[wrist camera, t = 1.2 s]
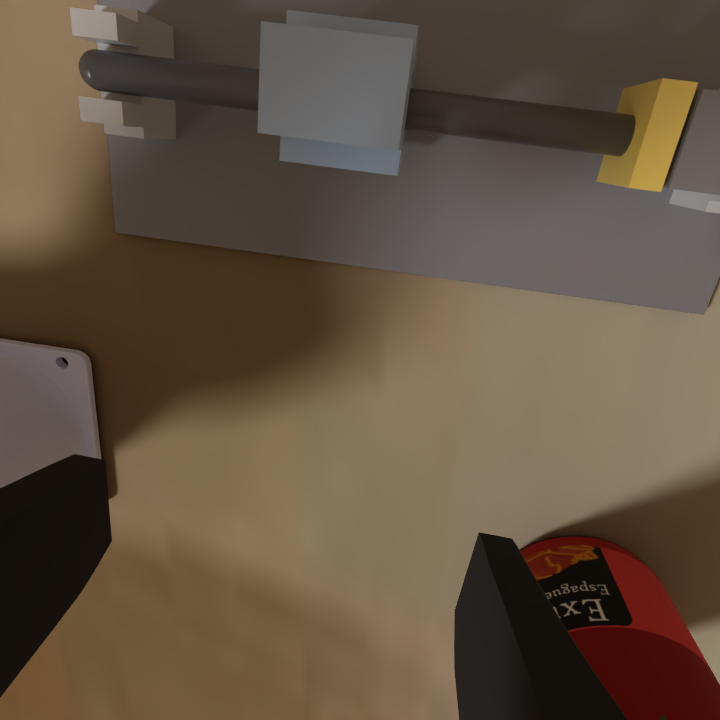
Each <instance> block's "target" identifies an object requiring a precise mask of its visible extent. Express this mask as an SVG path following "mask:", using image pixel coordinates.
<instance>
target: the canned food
mask: <svg viewBox="0 0 720 720" xmlns="http://www.w3.org/2000/svg"><path fill="white" fill-rule="evenodd" d="M520 552H521V554H522V556H523V557H524V559H525V561H526V563H527V564H528V566H529V568H530V569H531V571H532V573H533V575H534V576H535V578H536V580H537V581H538V583H539V585H540V587H541V588H542V590H543V592H544V593H545V595H546V597H547V598H548V600H549V602H550V603H551V605H552V607H553V608H554V610H555V611H556V613H557V615H558V616H559V618H560V620H561V621H562V623H563V624H564V626H565V627H566V629H567V631H568V632H569V634H570V635H571V637H572V638H573V640H574V641H575V643H576V644H577V646H578V648H579V649H580V651H581V652H582V654H583V655H584V657H585V658H586V660H587V662H588V663H589V664H590V666H591V667H592V669H593V670H594V672H595V673H596V675H597V676H598V678H599V679H600V681H601V682H602V684H603V685H604V687H605V688H606V689H607V691H608V692H609V694H610V695H611V696H612V698H613V699H614V701H615V702H616V704H617V705H618V706H619V708H620V709H621V711H622V712H623V713H624V715H625V716H626V718H627V719H628V720H720V685H719V683H718V681H717V679H716V678H715V676H714V674H713V672H712V671H711V669H710V667H709V665H708V664H707V662H706V660H705V658H704V657H703V655H702V653H701V651H700V650H699V648H698V646H697V644H696V643H695V641H694V639H693V637H692V636H691V634H690V632H689V630H688V628H687V627H686V625H685V623H684V621H683V620H682V618H681V616H680V614H679V613H678V611H677V609H676V607H675V606H674V604H673V602H672V600H671V599H670V597H669V595H668V593H667V592H666V590H665V588H664V586H663V585H662V583H661V581H660V580H659V579H658V578H657V577H656V575H655V574H654V573H653V572H652V571H651V570H650V569H649V568H648V567H647V566H646V565H645V564H644V563H643V562H642V561H640V560H639V559H638V558H637V557H636V556H634V555H633V554H632V553H630V552H629V551H628V550H626V549H624V548H622V547H620V546H618V545H616V544H614V543H611V542H607V541H604V540H600V539H597V538H590V537H581V536H572V537H558V538H553V539H547V540H544V541H541V542H538V543H535V544H533V545H530V546H528V547H527V548H525V549H523V550H521V551H520Z"/></svg>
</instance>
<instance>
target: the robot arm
mask: <svg viewBox="0 0 720 720" xmlns="http://www.w3.org/2000/svg"><path fill="white" fill-rule="evenodd" d="M62 357H63V358H65V359H66V360H67V361H68V364H66V363H65V362H64V361H63V359H62ZM111 541H112V538H111V526H110V514H109V502H108V490H107V478H106V466H105V460H103V459H101V451H100V442H99V433H98V423H97V414H96V405H95V396H94V386H93V377H92V368H91V361H90V358H89V357H88V356H87V355H86V354H85V353H84V352H82V351H79V350H74V349H67V348H61V347H54V346H48V345H41V344H34V343H28V342H21V341H15V340H8V339H1V338H0V697H1V696H2V694H3V693H4V692H5V691H6V689H7V688H8V687H9V685H10V684H11V683H12V682H13V680H14V679H15V678H16V676H17V675H18V674H19V673H20V671H21V670H22V669H23V667H24V666H25V665H26V663H27V662H28V661H29V660H30V658H31V657H32V656H33V654H34V653H35V652H36V651H37V649H38V648H39V647H40V645H41V644H42V643H43V642H44V640H45V639H46V638H47V636H48V635H49V634H50V632H51V631H52V630H53V629H54V627H55V626H56V625H57V623H58V622H59V621H60V619H61V618H62V617H63V615H64V614H65V613H66V612H67V610H68V609H69V608H70V606H71V605H72V604H73V602H74V601H75V600H76V598H77V597H78V596H79V594H80V593H81V592H82V590H83V588H84V587H85V585H86V584H87V582H88V580H89V579H90V577H91V576H92V574H93V572H94V571H95V569H96V567H97V566H98V564H99V562H100V560H101V559H102V557H103V555H104V554H105V552H106V550H107V548H108V547H109V545H110V543H111ZM454 651H455V679H456V690H457V700H458V710H459V720H628V719H627V718H626V716H625V715H624V713H623V712H622V711H621V709H620V708H619V706H618V705H617V704H616V702H615V701H614V699H613V698H612V696H611V695H610V694H609V692H608V691H607V689H606V688H605V687H604V685H603V684H602V682H601V681H600V679H599V678H598V676H597V675H596V673H595V672H594V670H593V669H592V667H591V666H590V664H589V663H588V662H587V660H586V658H585V657H584V655H583V654H582V652H581V651H580V649H579V648H578V646H577V644H576V643H575V641H574V640H573V638H572V637H571V635H570V634H569V632H568V631H567V629H566V627H565V626H564V624H563V623H562V621H561V620H560V618H559V616H558V615H557V613H556V611H555V610H554V608H553V607H552V605H551V603H550V602H549V600H548V598H547V597H546V595H545V593H544V592H543V590H542V588H541V587H540V585H539V583H538V581H537V580H536V578H535V576H534V575H533V573H532V571H531V569H530V568H529V566H528V564H527V563H526V561H525V559H524V557H523V556H522V554H521V552H520V551H519V549H518V547H517V545H516V544H515V542H514V541H513V539H510V538H505V537H500V536H495V535H490V534H484V533H479V534H478V537H477V540H476V544H475V547H474V550H473V553H472V557H471V560H470V563H469V566H468V570H467V573H466V576H465V579H464V583H463V586H462V589H461V592H460V596H459V599H458V602H457V605H456V609H455V640H454Z"/></svg>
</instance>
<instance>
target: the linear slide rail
mask: <svg viewBox="0 0 720 720" xmlns="http://www.w3.org/2000/svg"><path fill="white" fill-rule="evenodd" d="M94 7H95V10H87V9H78V8H70V13H71V23H72V34H73V36H76V37H80V38H83V39H86V40H89V41H92V42H95V43H97V45H98V50H97V49H92V50H89V51H87V52H85V53H84V54H83V55H82V56H81V58H80V61H79V71H80V74H81V76H82V78H83V80H84V81H85V82H86V83H87V84H88V85H89V86H90V87H92V88H93V89H95V90H98V91H101V95H102V99H97V98H89V97H81V96H79V106H80V117H81V121H87V122H95V123H103V124H104V132H105V134H107V135H108V148H109V161H110V173H111V186H112V199H113V212H114V225H115V233H122V234H129V235H136V236H144V237H151V238H158V239H165V240H172V241H179V242H187V243H194V244H201V245H208V246H215V247H222V248H230V249H237V250H244V251H251V252H258V253H265V254H273V255H280V256H287V257H294V258H301V259H308V260H316V261H323V262H330V263H337V264H344V265H352V266H359V267H366V268H373V269H380V270H387V271H395V272H402V273H409V274H416V275H423V276H430V277H438V278H445V279H452V280H459V281H466V282H473V283H481V284H488V285H495V286H502V287H509V288H516V289H524V290H531V291H538V292H545V293H552V294H559V295H567V296H574V297H581V298H588V299H595V300H602V301H610V302H617V303H624V304H631V305H638V306H646V307H653V308H660V309H667V310H674V311H681V312H689V313H696V314H703V315H704V314H705V311H706V309H707V306H708V304H709V301H710V299H711V297H712V294H713V292H714V289H715V287H716V284H717V282H718V280H719V277H720V0H97V5H94ZM287 10H292V11H301V12H310V13H318V14H327V15H335V16H344V17H353V18H361V19H370V20H379V21H387V22H396V23H404V24H413V25H418V52H417V59H416V66H415V73H414V80H413V87H412V88H410V94H409V101H408V109H407V116H406V123H405V130H406V137H405V145H404V152H403V159H402V166H401V171H400V173H399V174H398V176H394V175H386V174H378V173H371V172H363V171H355V170H348V169H340V168H332V167H325V166H317V165H309V164H302V163H294V162H286V161H279V160H280V139H281V136H278V135H271V134H263V133H257V132H258V100H259V68H260V37H261V21H265V22H273V23H282V24H286V15H287Z"/></svg>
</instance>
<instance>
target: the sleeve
mask: <svg viewBox="0 0 720 720" xmlns="http://www.w3.org/2000/svg"><path fill="white" fill-rule="evenodd" d="M417 52H418V25H413V24H404V23H396V22H387V21H379V20H370V19H361V18H353V17H344V16H335V15H327V14H318V13H310V12H301V11H292V10H287V15H286V24H282V23H273V22H265V21H261V37H260V68H259V100H258V132H257V133H263V134H271V135H278V136H281V139H280V160H279V161H286V162H294V163H302V164H309V165H317V166H325V167H332V168H340V169H348V170H355V171H363V172H371V173H378V174H386V175H394V176H398V174H399V173H400V171H401V166H402V159H403V152H404V145H405V137H406V130H405V123H406V116H407V109H408V101H409V94H410V88H412V87H413V80H414V73H415V66H416V59H417Z"/></svg>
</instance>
